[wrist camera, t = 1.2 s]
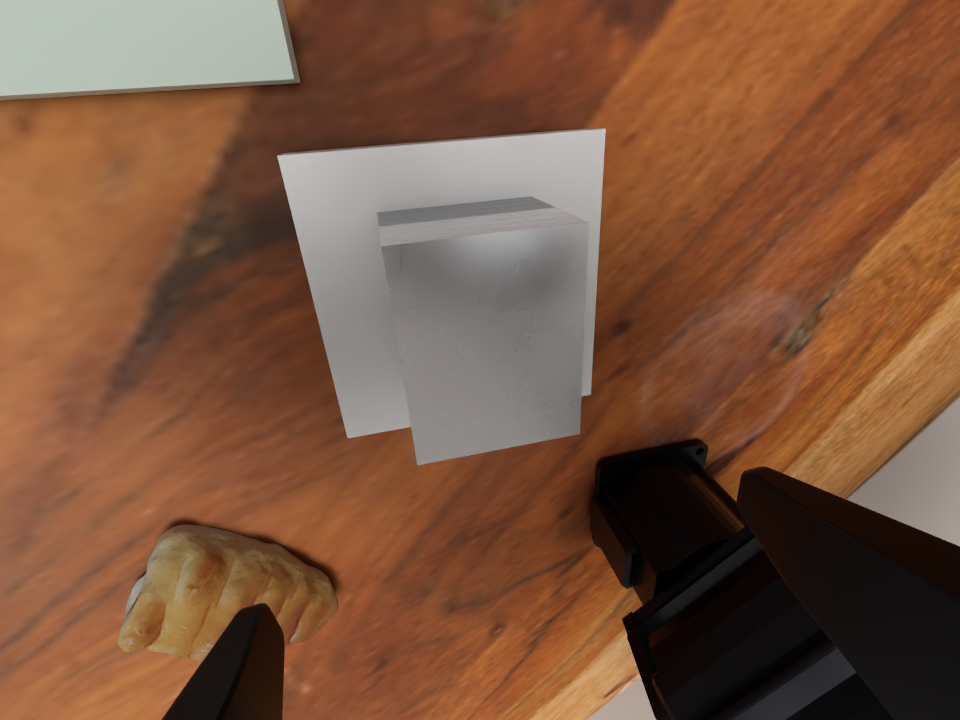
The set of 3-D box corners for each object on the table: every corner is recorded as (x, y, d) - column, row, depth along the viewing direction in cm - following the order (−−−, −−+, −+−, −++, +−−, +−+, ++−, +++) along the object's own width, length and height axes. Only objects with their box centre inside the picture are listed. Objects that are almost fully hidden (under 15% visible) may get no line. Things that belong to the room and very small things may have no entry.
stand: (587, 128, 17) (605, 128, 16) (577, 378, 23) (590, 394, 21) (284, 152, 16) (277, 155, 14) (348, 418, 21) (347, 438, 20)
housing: (531, 196, 17) (589, 222, 12) (533, 366, 20) (579, 434, 16) (376, 212, 16) (380, 246, 11) (405, 387, 19) (417, 465, 15)
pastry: (359, 549, 25) (358, 615, 22) (311, 628, 27) (304, 700, 24) (165, 507, 21) (127, 579, 18) (127, 603, 23) (87, 684, 20)
